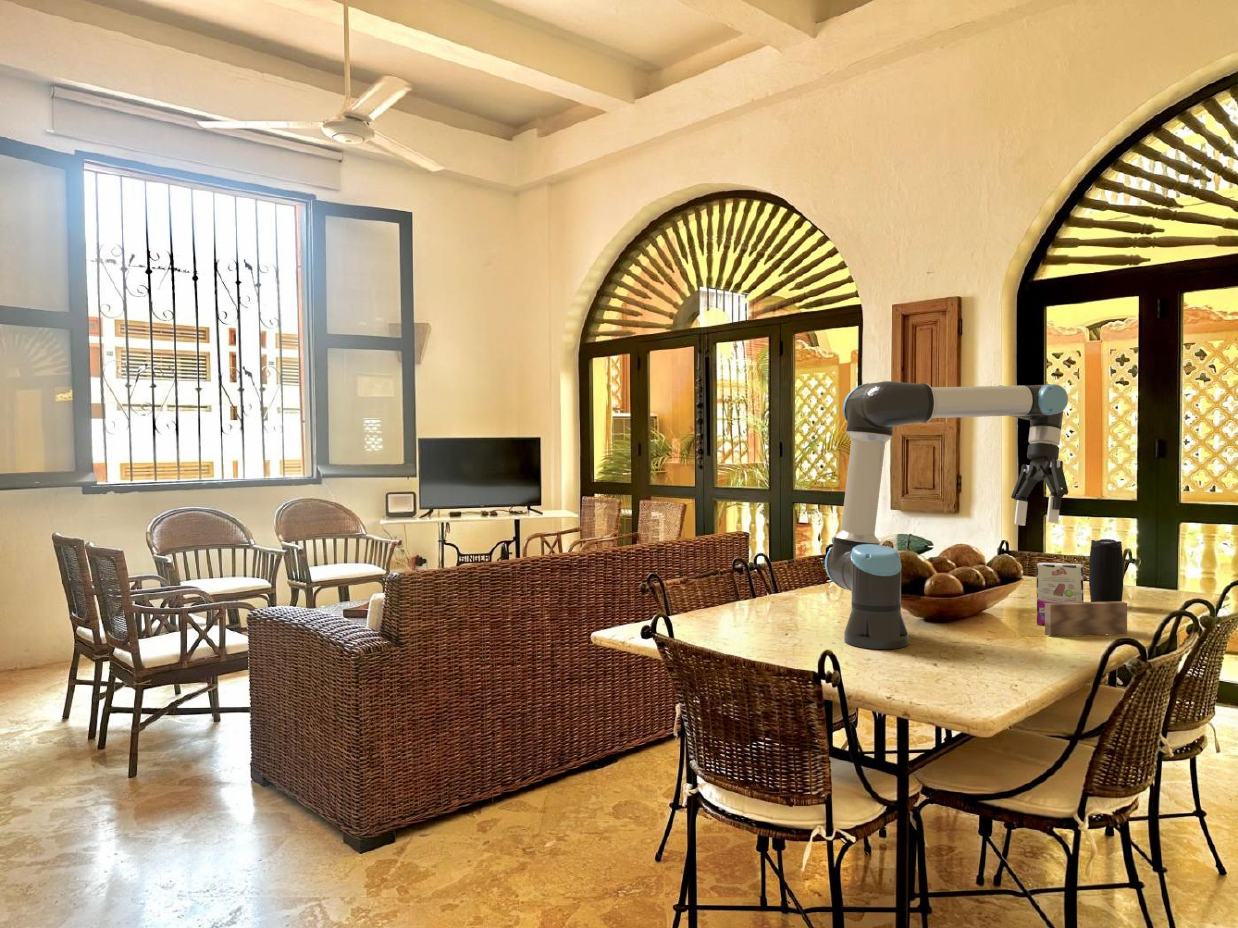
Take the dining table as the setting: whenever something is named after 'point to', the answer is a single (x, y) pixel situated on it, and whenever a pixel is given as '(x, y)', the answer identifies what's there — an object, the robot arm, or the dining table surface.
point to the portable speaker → (1106, 571)
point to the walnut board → (1085, 618)
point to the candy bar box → (1058, 585)
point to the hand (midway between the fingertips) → (1035, 523)
